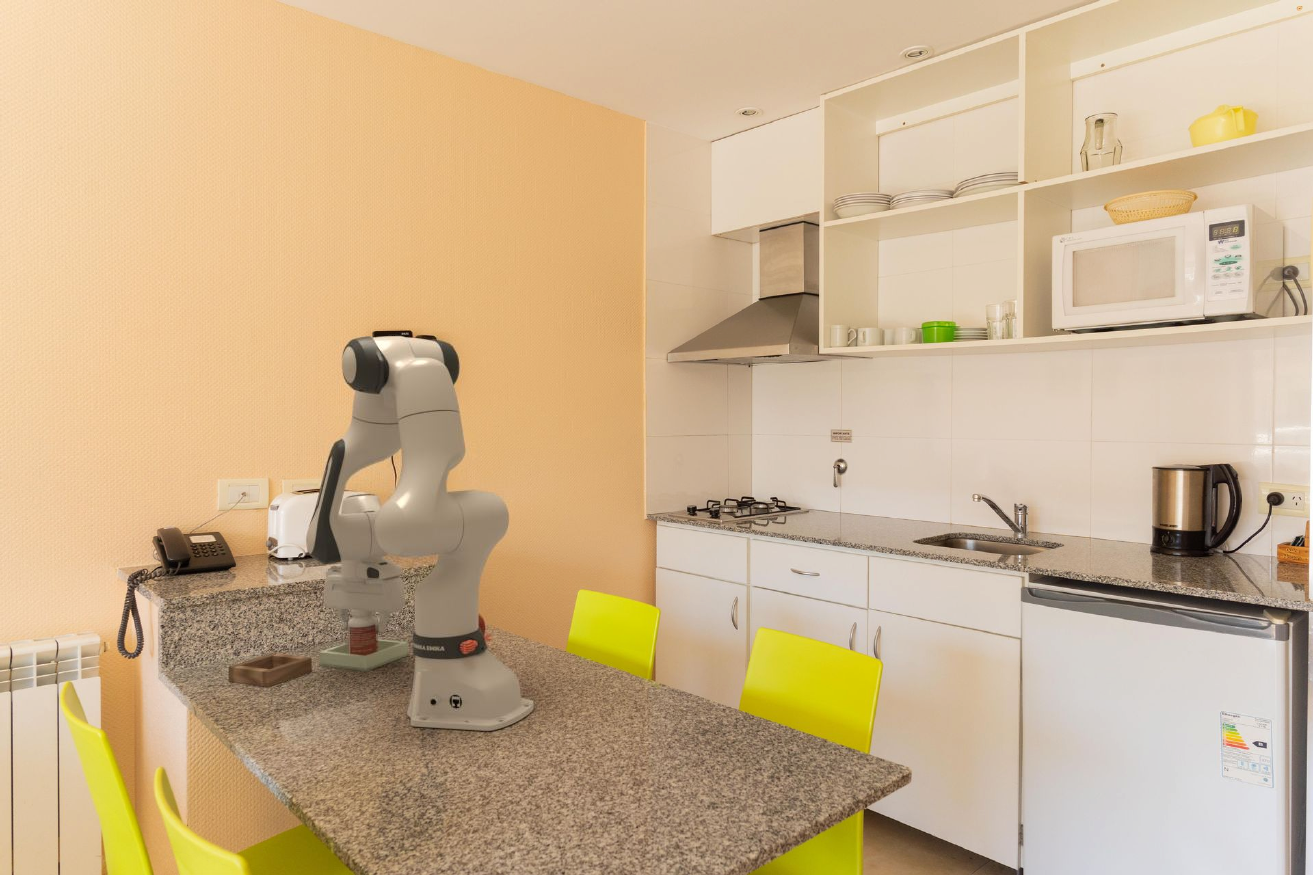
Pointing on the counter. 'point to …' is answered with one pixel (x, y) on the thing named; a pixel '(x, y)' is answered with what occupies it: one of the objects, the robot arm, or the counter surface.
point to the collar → (270, 669)
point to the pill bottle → (362, 633)
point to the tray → (343, 660)
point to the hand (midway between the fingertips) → (363, 630)
